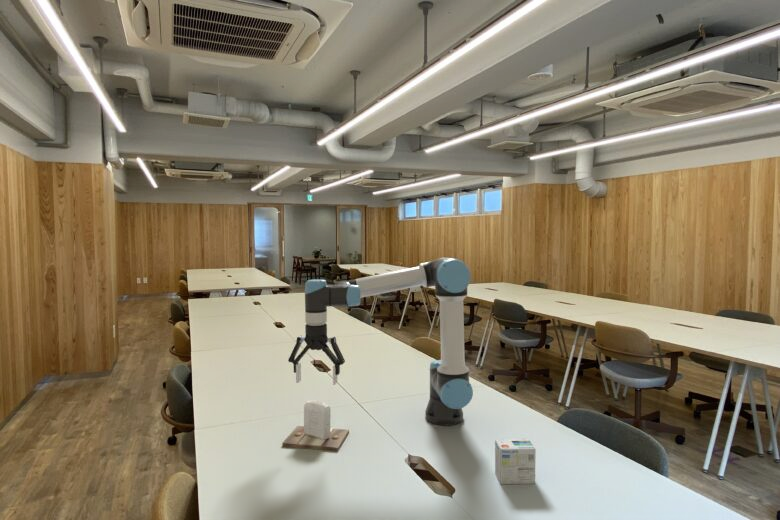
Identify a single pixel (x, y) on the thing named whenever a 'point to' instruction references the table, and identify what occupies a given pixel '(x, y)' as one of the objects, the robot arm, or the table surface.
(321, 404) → the photo printer
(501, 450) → the light bulb box
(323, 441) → the board
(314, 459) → the table surface
